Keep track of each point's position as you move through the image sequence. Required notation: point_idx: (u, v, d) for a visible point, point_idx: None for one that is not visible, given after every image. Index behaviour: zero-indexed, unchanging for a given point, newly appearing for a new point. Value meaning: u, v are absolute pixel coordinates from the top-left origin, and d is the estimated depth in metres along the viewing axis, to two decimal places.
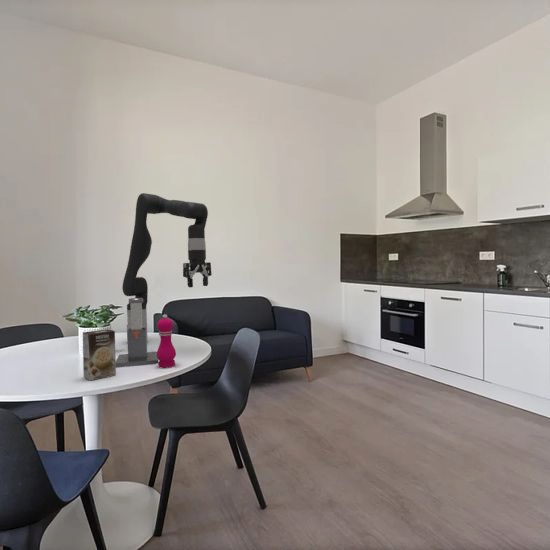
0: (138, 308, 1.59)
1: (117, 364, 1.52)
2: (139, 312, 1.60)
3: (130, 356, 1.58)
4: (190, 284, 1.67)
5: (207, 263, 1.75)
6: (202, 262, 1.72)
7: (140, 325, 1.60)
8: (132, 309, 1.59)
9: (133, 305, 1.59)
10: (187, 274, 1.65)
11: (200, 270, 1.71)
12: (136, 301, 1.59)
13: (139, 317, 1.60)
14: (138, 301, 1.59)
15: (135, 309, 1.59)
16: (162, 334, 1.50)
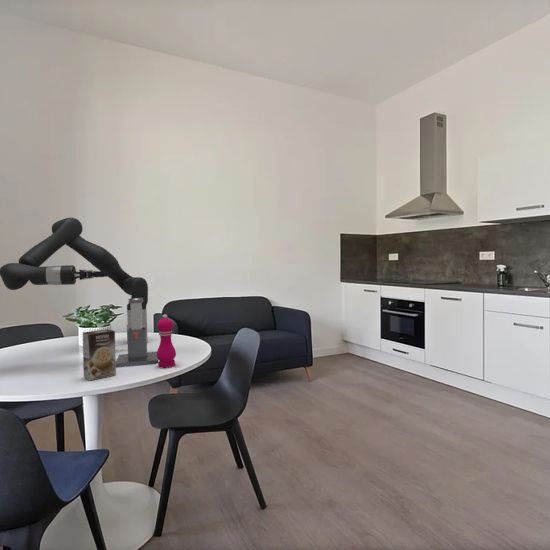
0: (138, 308, 1.59)
1: (117, 364, 1.52)
2: (139, 312, 1.60)
3: (130, 356, 1.58)
4: (104, 275, 1.62)
5: None
6: None
7: (140, 325, 1.60)
8: (132, 309, 1.59)
9: (133, 305, 1.59)
10: None
11: None
12: (136, 301, 1.59)
13: (139, 317, 1.60)
14: (138, 301, 1.59)
15: (135, 309, 1.59)
16: (162, 334, 1.50)
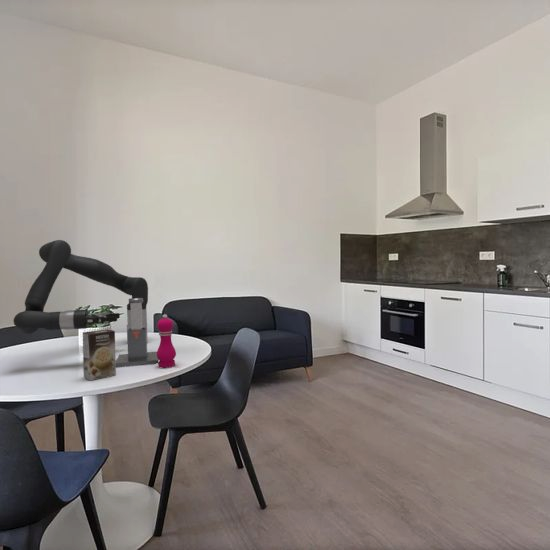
0: (138, 308, 1.59)
1: (117, 364, 1.52)
2: (139, 312, 1.60)
3: (130, 356, 1.58)
4: (116, 317, 1.64)
5: None
6: None
7: (140, 325, 1.60)
8: (132, 309, 1.59)
9: (133, 305, 1.59)
10: None
11: None
12: (136, 301, 1.59)
13: (139, 317, 1.60)
14: (138, 301, 1.59)
15: (135, 309, 1.59)
16: (162, 334, 1.50)
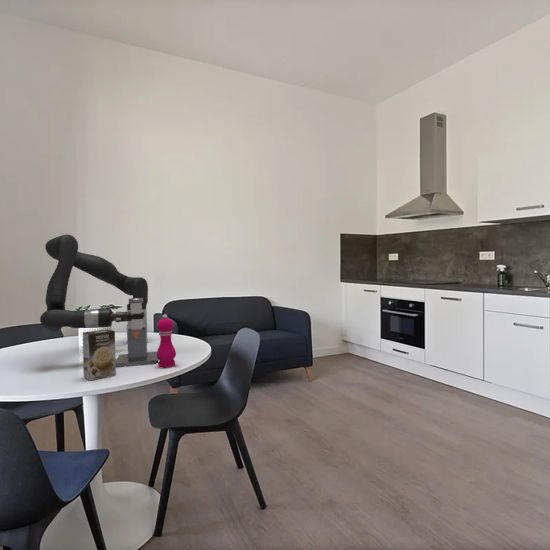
0: (138, 308, 1.59)
1: (117, 364, 1.52)
2: (139, 312, 1.60)
3: (130, 356, 1.58)
4: None
5: (116, 319, 1.54)
6: None
7: (140, 325, 1.60)
8: (132, 309, 1.59)
9: (133, 305, 1.59)
10: None
11: None
12: (136, 301, 1.59)
13: None
14: (138, 301, 1.59)
15: (135, 310, 1.59)
16: (162, 334, 1.50)
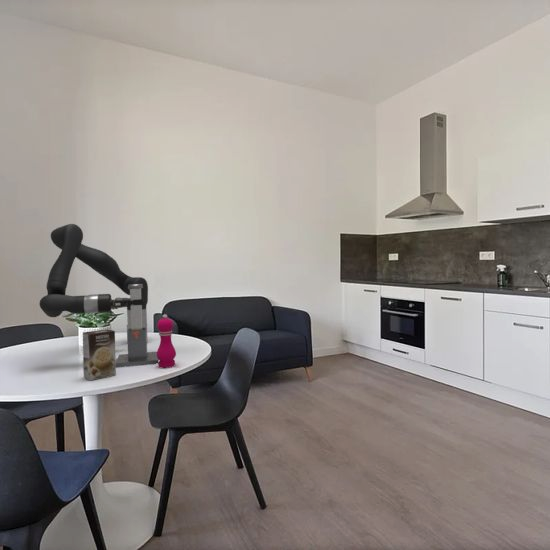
0: (137, 293, 1.59)
1: (117, 364, 1.52)
2: (138, 298, 1.59)
3: (130, 356, 1.58)
4: None
5: None
6: None
7: (139, 311, 1.60)
8: (131, 295, 1.59)
9: (132, 291, 1.59)
10: None
11: None
12: (135, 287, 1.58)
13: None
14: (137, 287, 1.59)
15: (135, 295, 1.59)
16: (162, 334, 1.50)
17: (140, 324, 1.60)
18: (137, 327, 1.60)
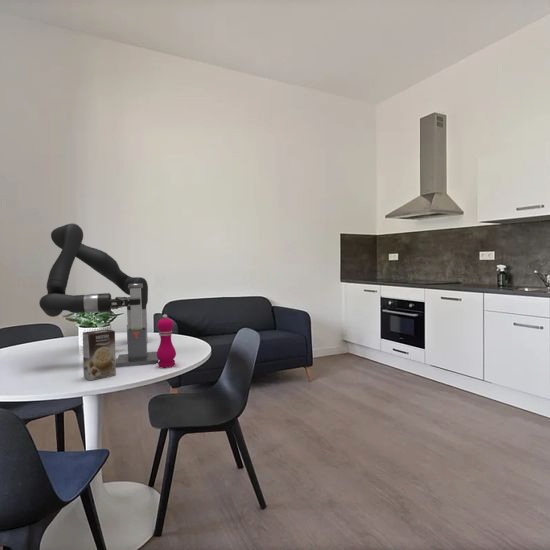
0: (137, 293, 1.59)
1: (117, 364, 1.52)
2: (138, 297, 1.59)
3: (130, 356, 1.58)
4: None
5: None
6: None
7: (139, 310, 1.60)
8: (131, 294, 1.59)
9: (132, 290, 1.59)
10: None
11: None
12: (135, 286, 1.58)
13: None
14: (137, 286, 1.59)
15: (135, 295, 1.59)
16: (162, 334, 1.50)
17: (140, 323, 1.60)
18: (137, 326, 1.60)
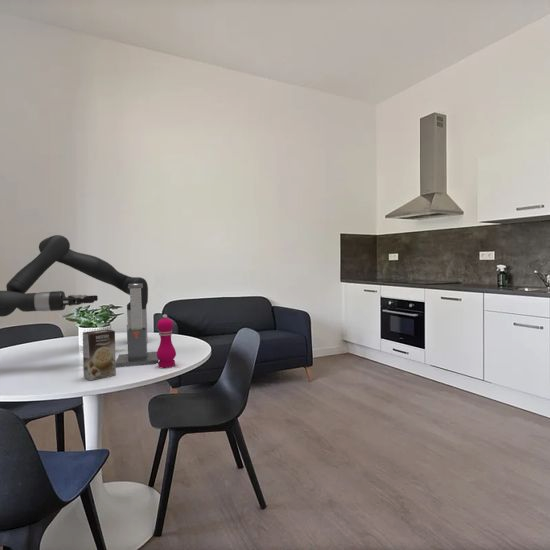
0: (137, 293, 1.59)
1: (117, 364, 1.52)
2: (138, 297, 1.59)
3: (130, 356, 1.58)
4: None
5: None
6: None
7: (139, 310, 1.60)
8: (131, 294, 1.59)
9: (132, 290, 1.59)
10: None
11: None
12: (135, 286, 1.58)
13: (138, 302, 1.60)
14: (137, 286, 1.59)
15: (135, 295, 1.59)
16: (162, 334, 1.50)
17: (140, 323, 1.60)
18: (137, 326, 1.60)
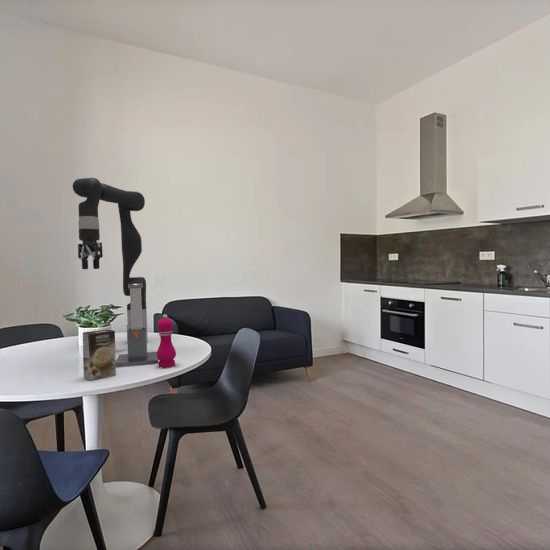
0: (137, 293, 1.59)
1: (117, 364, 1.52)
2: (138, 297, 1.59)
3: (130, 356, 1.58)
4: None
5: None
6: (89, 242, 1.56)
7: (139, 310, 1.60)
8: (131, 294, 1.59)
9: (132, 290, 1.59)
10: (78, 255, 1.61)
11: (88, 251, 1.57)
12: (135, 286, 1.58)
13: (138, 302, 1.60)
14: (137, 286, 1.59)
15: (135, 295, 1.59)
16: (162, 334, 1.50)
17: (140, 323, 1.60)
18: (137, 326, 1.60)
